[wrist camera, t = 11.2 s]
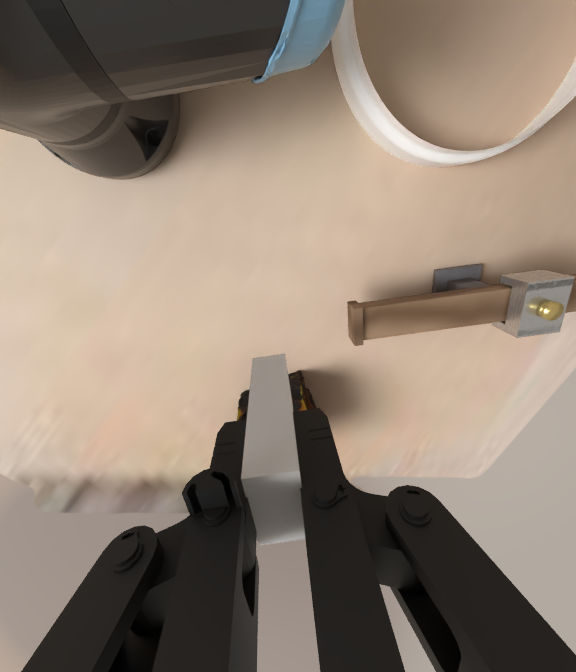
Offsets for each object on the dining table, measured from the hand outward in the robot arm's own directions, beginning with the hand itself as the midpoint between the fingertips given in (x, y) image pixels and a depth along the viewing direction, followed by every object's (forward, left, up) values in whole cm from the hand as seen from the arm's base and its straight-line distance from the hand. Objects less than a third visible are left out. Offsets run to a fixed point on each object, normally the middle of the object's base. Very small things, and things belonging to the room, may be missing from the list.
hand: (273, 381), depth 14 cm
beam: (+6, +25, -26) cm, 37 cm away
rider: (+6, +30, -21) cm, 37 cm away
